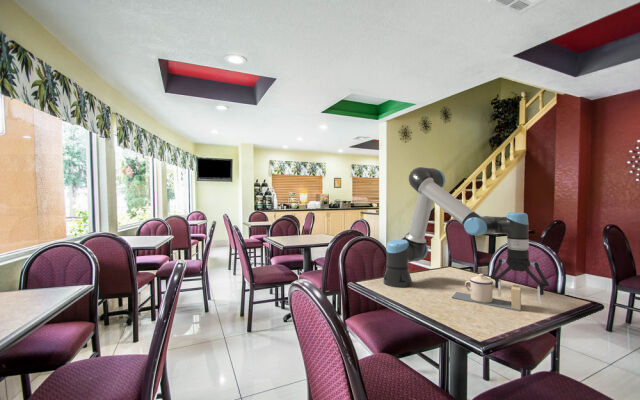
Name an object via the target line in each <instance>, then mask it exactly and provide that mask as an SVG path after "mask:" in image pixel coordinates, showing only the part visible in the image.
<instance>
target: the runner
mask: <svg viewBox="0 0 640 400" xmlns="http://www.w3.org/2000/svg"><path fill="white" fill-rule="evenodd" d="M510 292H511V295H510V296H511V297H510V298H511V299H510V300H511V301H510V300H504V299H499V298H493V297H492V299H493V301H492V302H490V303H482V302H477V301H474V300H472V299H471V293H465V292H460V291H459V292H458V291H456V292H455V293H454V294H453V295H452V296H451V299H455V300H459V301H463V302H470V303H474V304H481V305H487V306H489V307H490V306H491V307H494V308H495V307H496V308H501V309H505V310H510V311H511V310H512V311H517V312H521V309H522V307H521V306H522V285H518V284H512V286H511V291H510Z"/></svg>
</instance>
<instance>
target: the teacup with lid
mask: <svg viewBox="0 0 640 400" xmlns="http://www.w3.org/2000/svg"><path fill="white" fill-rule="evenodd" d="M484 275H485V274H484V273H479V274H478V275H476V276H472V277H470V279H469V280H466V281H465V282H464V287H465V289H466V291H468V292H470V294H471V299H472V300H474V301H477V302H482V303H490V302H492V301H493V299H492V298H493V284H494V281H493V279H491V278H488V277H487V276H484ZM468 283H469V284H470V287H469V286H468Z"/></svg>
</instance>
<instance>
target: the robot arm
mask: <svg viewBox="0 0 640 400" xmlns="http://www.w3.org/2000/svg"><path fill="white" fill-rule="evenodd" d="M408 182H409V185H410V186H411V187H412V188H413V189H414V191H416V193H417V198H416V201H415V206H414V210H413V214H412V217H411V223H410V228H409V232H408V234H406V235H405V238H404V239H392V240H390V241H388V242H387V243H386V248H385V249H386V250H385V252H386V269H385V272H384V276H383V284H384V285H386V286H389V287H395V288H407V287H411V286H413V280H412V277H411V274H410V273H411V272H410V270H409V263H412V262H419V261H421V260H424V259H425V258H426V257H427V255H428V252H429V251H428V250H429V248H428V245H427V239H426V238H425V235H426V233H427V227H428V224H429V219H430V216H431V211H432V207H433V203H434V204H436V205H437V206H438V207H439V208H440V209H442V210H443V211H445V212H446V213H447V214H448V215H449V216H451V217H452V218H453V219H455V220H456V221H457V222H459V223H460V224H461V225H462V226H463V227H464V230H465V232H466V233H467V234H468V235H471V236H475V237H476V236H482V235H492V234H501V235H502V234H503V235H506V238H507V239H506V242H507V243H506V247H507V250H506V251H507V252H506V253H507V254H506V256H507V259H504V258H503V257H499V259H498V264H497V266H496V267H495V268H494V270H493V272H492V273H491V275H490V278H489V279H491V280H494V281H495V282H494V283H495V284H494V285H495V286H494V287H495V288H496V289H498V290H497V291H498V292H497V294H498V297H501V296H502V280H500V279H502V278H503V277H504V276H506V274H508V273H509V272H510V271H511V270H512V271H515V272H521V273H523V272H526V274H527V275H528V276H529V277H530V278H531V279H532V280H533V281H535V283H536V284H537V304H541V296H544V294H545V293H544V288H545V287H549V286H550V283H549V281H548V280H547V278H546V276H545V275H544V273H543V271H542V269H541V268H540V264H539V262H538V261H530V250H529V247H530V241H529V240H530V239H529V225H530V224H529V218H528V217H529V216H528V214H527V213H525V212H507V213H506V215H505V216H489V215H487V216H485V215H484V216H481V215H480V214H478V213H477V212H476V211H474V210H472V208H470V207H469V206H467V205H466V204H464V203H463V202H461V201H460V200H459V199H457V198H456V197H455V196H453V194H451V193H450V192H449V191H446V189H445V188H443V187H444V186H445V183H446V176H445V174H444V173H443V171H441V170H440V169H436V168H433V167H430V168H429V167H424V166H423V167H422V166H421V167H416V168H413V170H412V171H410V173H409V175H408ZM505 263H506V264H507V267H506V268H505V269H504V270H502V272H501V273H499V274H498V275H497V276H496V274H497V273H498V272H499V270H500V268H501V267H502V265H504V264H505ZM530 266H532V267H533V268H535V270H536V272H537V274H538V275H539V277H540V279H541V280H542V281H543V282H542V281H541V280H540V279H539V278H538V276H536V275H535V274H534V272H532V270H531V269H530V268H529V267H530Z"/></svg>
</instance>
